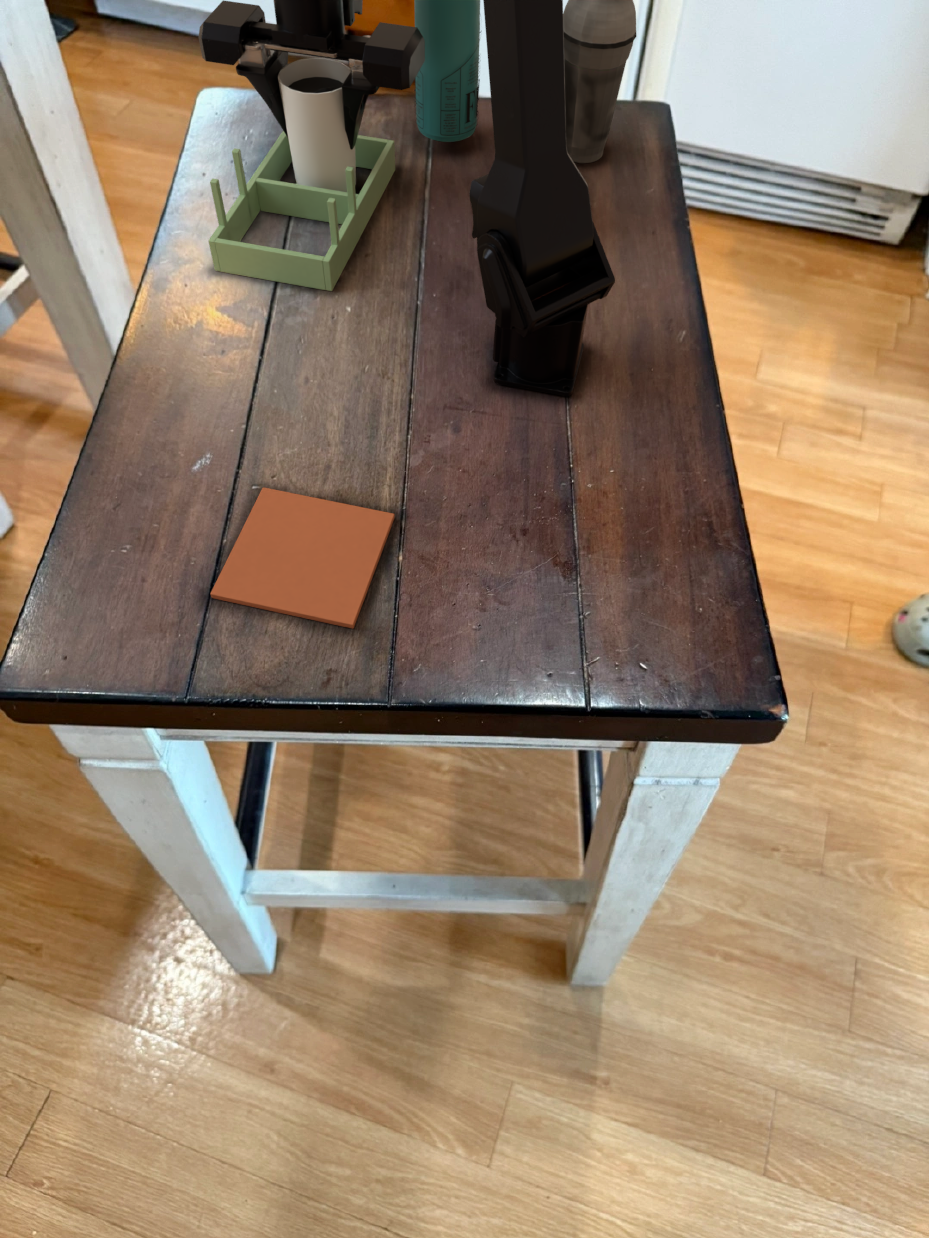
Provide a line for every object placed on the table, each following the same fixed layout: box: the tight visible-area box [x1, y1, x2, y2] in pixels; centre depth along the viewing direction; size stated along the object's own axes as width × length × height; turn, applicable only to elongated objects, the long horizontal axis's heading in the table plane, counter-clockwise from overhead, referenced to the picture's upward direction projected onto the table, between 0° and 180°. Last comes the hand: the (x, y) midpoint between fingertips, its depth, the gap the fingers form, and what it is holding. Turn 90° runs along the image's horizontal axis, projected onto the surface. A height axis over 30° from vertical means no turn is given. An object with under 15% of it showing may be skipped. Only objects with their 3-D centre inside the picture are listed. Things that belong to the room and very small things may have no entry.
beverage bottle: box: [413, 0, 483, 143], centre depth 88 cm, size 6×7×20 cm
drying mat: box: [210, 487, 396, 630], centre depth 64 cm, size 10×10×1 cm
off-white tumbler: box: [278, 57, 357, 192], centre depth 86 cm, size 7×7×10 cm
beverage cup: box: [563, 0, 637, 164], centre depth 87 cm, size 7×7×20 cm
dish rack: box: [208, 130, 396, 292], centre depth 85 cm, size 11×20×7 cm, turn 167°
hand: (322, 142), depth 87 cm, fingers closed on off-white tumbler, 5 cm apart
